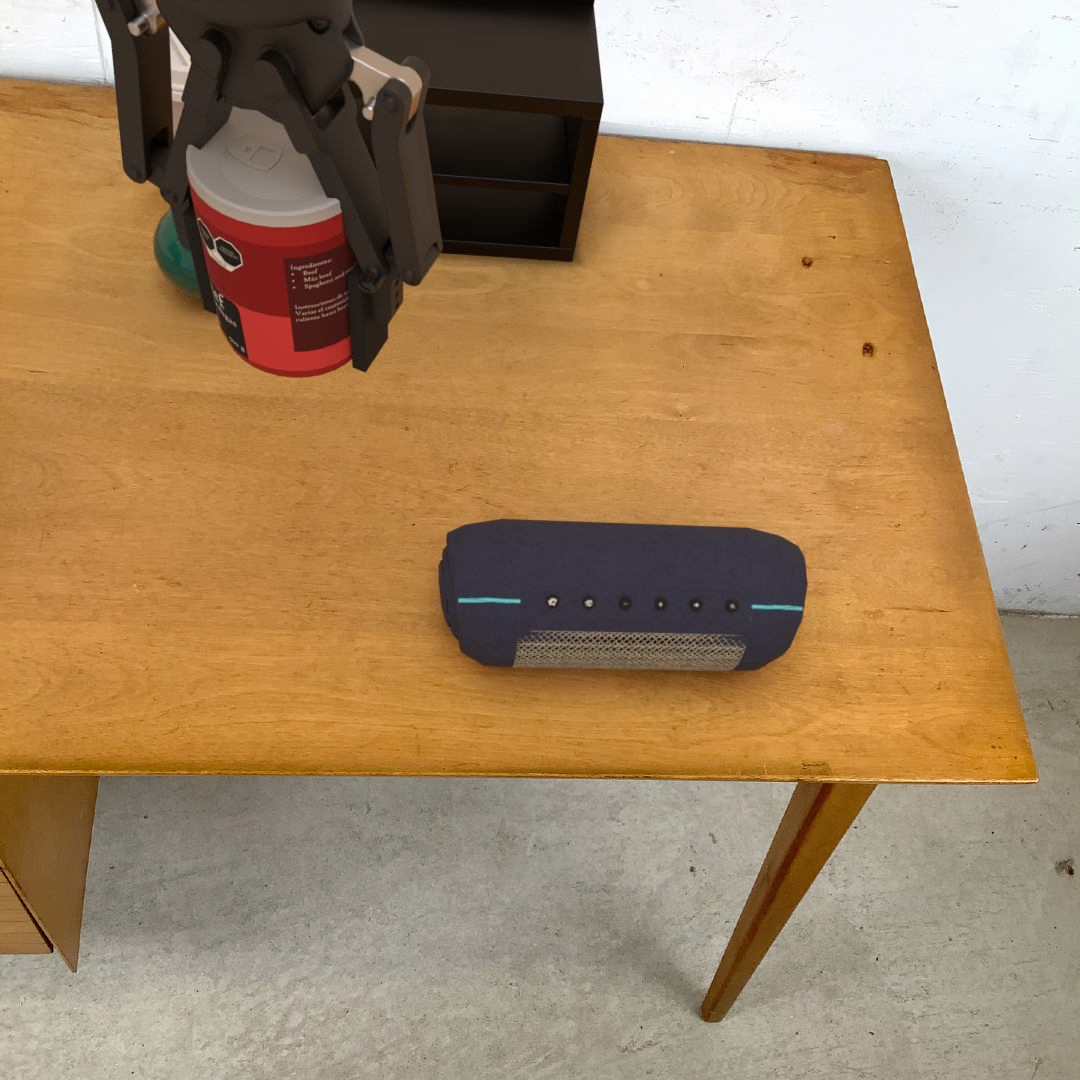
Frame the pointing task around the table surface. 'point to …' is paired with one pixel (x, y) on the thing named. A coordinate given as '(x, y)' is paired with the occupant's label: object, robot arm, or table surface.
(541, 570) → the portable speaker
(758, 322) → the table surface
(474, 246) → the rack
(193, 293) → the sphere
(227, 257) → the canned food
